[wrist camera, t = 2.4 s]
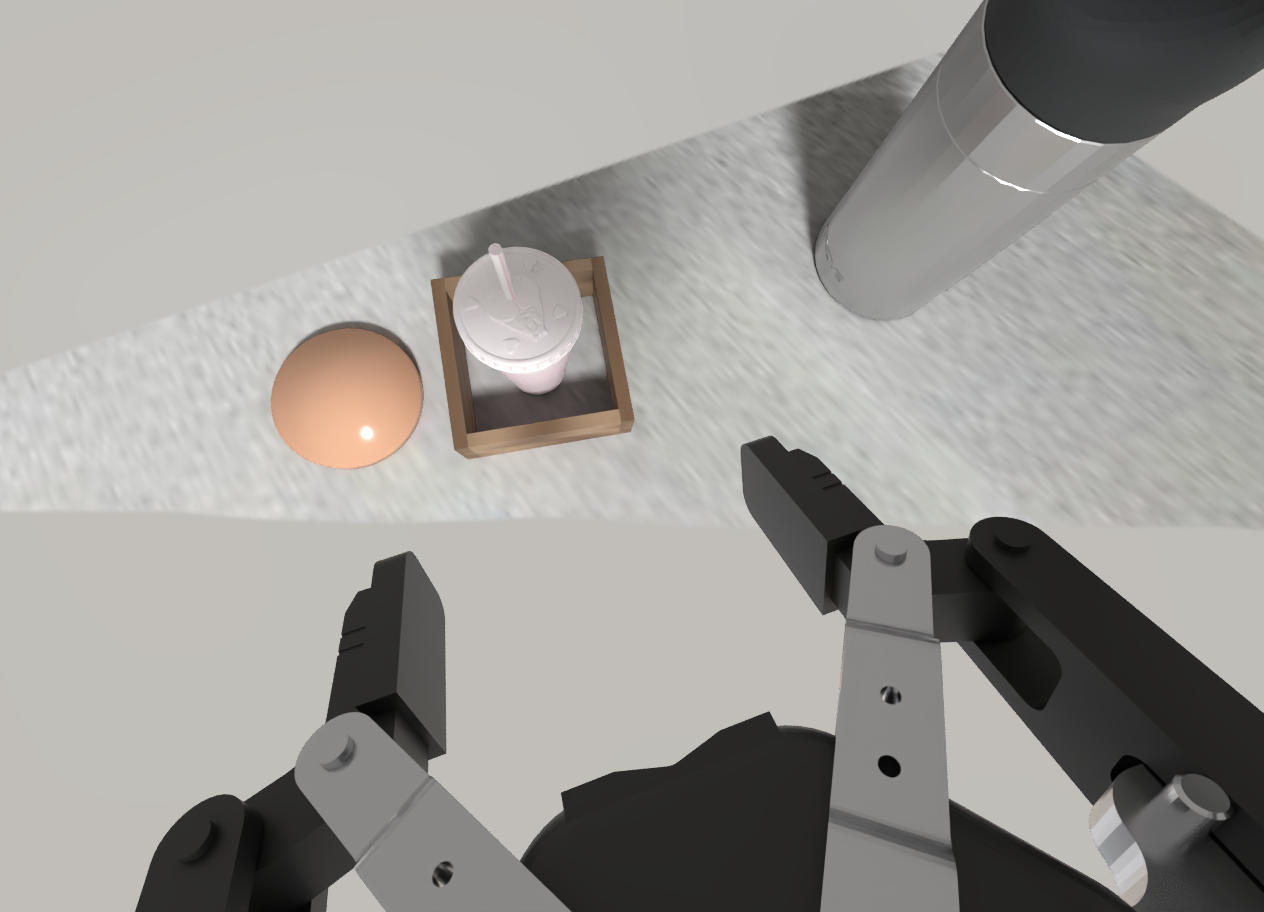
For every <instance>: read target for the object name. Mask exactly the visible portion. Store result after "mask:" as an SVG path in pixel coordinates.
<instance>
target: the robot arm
mask: <svg viewBox="0 0 1264 912" xmlns="http://www.w3.org/2000/svg"><path fill="white" fill-rule="evenodd" d="M1263 68H1264V0H984V1H983V2H982V3H981V5H980V6H979V8H978V9H977V10H976V12H975V13H974V15H973V16H972V17H971V19H970V20H969V22H968V23H967V24H966V26H965V27H964V29H963V30H962V31H961V33H960V34H959V35H958V37H957V38H956V40H955V41H954V43H953V44H952V45H951V47H950V48H949V49H948V51H947V53H946V54H945V56H944V57H943V58H942V60H941V61H940V62H939V64H938V65H937V67H936V68H935V69H934V71H933V72H932V74H931V75H930V76H929V78H928V79H927V81H926V82H925V83H924V85H923V86H922V88H921V89H920V90H919V92H918V93H917V95H916V96H915V97H914V99H913V100H912V102H911V103H910V104H909V106H908V107H907V109H906V110H905V111H904V113H903V114H902V116H901V117H900V118H899V120H898V121H897V123H896V124H895V125H894V127H893V128H892V130H891V131H890V132H889V134H888V135H887V137H886V138H885V139H884V141H883V142H882V143H881V145H880V146H879V148H878V149H877V150H876V152H875V153H874V155H873V156H872V157H871V159H870V160H869V162H868V163H867V164H866V166H865V167H864V169H863V170H862V171H861V173H860V174H859V176H858V177H857V178H856V180H855V181H854V183H853V184H852V185H851V187H850V188H849V189H848V191H847V192H846V194H845V195H844V196H843V198H842V199H841V201H840V202H839V203H838V205H837V206H836V208H835V209H834V210H833V212H832V213H831V215H830V216H829V217H828V219H827V220H826V222H825V223H824V225H823V227H822V228H821V230H820V232H819V235H818V238H817V241H816V247H815V260H816V267H817V271H818V273H819V276H820V279H821V281H822V283H823V284H824V286H825V288H826V289H827V291H828V292H829V294H830V295H831V296H832V297H833V298H834V299H835V300H836V301H837V302H838V303H839V304H841V305H842V306H843V307H845V308H846V309H848V310H849V311H851V312H853V313H855V314H857V315H860V316H862V317H866V318H870V319H874V320H893V319H899V318H903V317H905V316H908V315H910V314H912V313H914V312H915V311H917V310H918V309H920V308H921V307H922V306H924V305H925V304H927V303H928V302H929V301H931V300H932V299H934V298H935V297H936V296H938V295H939V294H941V293H942V292H943V291H947V290H948V289H949V288H951V287H952V286H954V285H955V284H956V283H958V282H959V281H961V280H962V279H963V278H965V277H966V276H967V275H969V274H970V273H972V272H973V271H974V270H976V269H977V268H978V267H980V266H981V265H983V264H984V263H985V262H987V261H988V260H990V259H991V258H992V257H994V256H995V255H996V254H998V253H999V252H1001V251H1002V250H1003V249H1005V248H1006V247H1007V246H1009V245H1010V244H1012V243H1013V242H1014V241H1016V240H1017V239H1019V238H1020V237H1021V236H1023V235H1024V234H1025V233H1027V232H1028V231H1030V230H1031V229H1032V228H1034V227H1035V226H1036V225H1038V224H1039V223H1041V222H1042V221H1043V220H1045V219H1046V218H1048V217H1049V216H1050V215H1051V214H1052V213H1053V212H1054V211H1055V210H1057V209H1058V208H1059V207H1061V206H1062V205H1064V204H1065V203H1066V202H1068V201H1069V200H1070V199H1072V198H1073V197H1075V196H1076V195H1077V194H1079V193H1080V192H1081V191H1083V190H1084V189H1086V188H1087V187H1088V186H1090V185H1091V184H1092V183H1094V182H1095V181H1097V180H1098V179H1099V178H1100V177H1102V176H1103V175H1104V174H1106V173H1107V172H1108V171H1110V170H1111V169H1113V168H1114V167H1115V166H1117V165H1118V164H1119V163H1121V162H1122V161H1124V160H1125V159H1126V158H1128V157H1129V156H1130V155H1132V154H1133V153H1135V152H1136V151H1137V150H1139V149H1140V148H1141V147H1143V146H1144V145H1146V144H1147V143H1148V142H1150V141H1151V140H1152V139H1154V138H1155V137H1157V136H1158V135H1159V134H1161V133H1162V132H1163V131H1165V130H1166V129H1167V128H1169V127H1170V126H1172V125H1173V124H1174V123H1176V122H1177V121H1178V120H1180V119H1181V118H1183V117H1184V116H1185V115H1187V114H1188V113H1189V112H1191V111H1192V110H1194V109H1195V108H1197V107H1198V106H1199V105H1201V104H1203V103H1205V102H1207V101H1209V100H1211V99H1213V98H1215V97H1217V96H1219V95H1221V94H1222V93H1224V92H1226V91H1228V90H1230V89H1232V88H1233V87H1235V86H1237V85H1239V84H1240V83H1242V82H1244V81H1245V80H1246V79H1248V78H1250V77H1251V76H1253V75H1254V74H1256V73H1257V72H1259V71H1260V70H1262V69H1263ZM741 466H742V481H743V494H744V498H745V502H746V505H747V507H748V509H749V511H750V513H751V515H752V517H753V518H754V519H755V521H756V522H757V524H758V525H759V526H760V528H761V529H762V531H763V532H764V533H765V535H766V536H767V538H768V539H769V540H770V542H771V543H772V545H773V546H774V547H775V549H776V550H777V551H778V553H779V554H780V556H781V557H782V559H783V560H784V561H785V563H786V564H787V566H788V567H789V568H790V570H791V571H792V573H793V574H794V575H795V577H796V578H797V580H798V581H799V582H800V584H801V585H802V586H803V588H804V589H805V591H806V592H807V594H808V595H809V597H810V598H811V599H812V601H813V602H814V604H815V605H816V606H817V608H818V609H819V611H820V612H821V613H822V615H825V614H827V613H830V612H833V611H835V610H838V609H839V611H840V612H841V613H842V615H844V617H845V618H846V624H845V634H844V646H843V656H842V666H841V677H840V688H839V699H838V708H837V719H836V729H835V736H834V735H832V734H829V733H827V732H824V731H820V730H817V729H813V728H808V727H802V726H786V725H785V726H777V725H776V723H775V721H774V719H773V717H772V716H771V714H770V712H766V713H764V714H761V715H758V716H756V717H753V718H751V719H748V720H746V721H743V722H741V723H738V724H735V725H733V726H730V727H728V728H725V729H723V730H720V731H719V732H717V733H716V734H715V735H713V736H712V737H711V738H709V739H708V740H707V741H706V742H704V743H703V744H701V745H700V746H699V747H698V748H696V749H695V750H693V751H692V752H691V753H689V754H688V755H687V756H685V757H684V758H683V759H681V760H680V761H679V762H677V763H676V764H674V765H671V766H667V767H658V768H649V769H638V770H628V771H619V772H613V773H610V774H608V775H605V776H602V777H600V778H597V779H595V780H592V781H590V782H587V783H585V784H582V785H580V786H577V787H574V788H572V789H569V790H567V791H564V792H562V793H561V795H562V802H563V808H564V810H563V811H562V812H561V813H559V814H558V815H557V816H556V817H555V818H553V819H552V820H551V821H550V822H549V823H548V824H547V825H546V826H545V827H544V828H543V829H542V830H541V832H540V833H539V834H538V835H537V836H536V837H535V839H534V840H533V841H532V843H531V844H530V846H529V847H528V849H527V850H526V852H525V853H524V855H523V857H522V858H521V860H520V861H519V860H518V859H517V858H516V857H515V856H514V855H512V853H511V852H510V851H508V850H507V849H506V848H505V847H504V846H503V845H502V844H501V843H500V842H499V841H498V840H497V839H496V838H495V837H494V836H493V835H492V834H491V833H490V832H489V831H488V830H487V829H486V828H485V827H484V826H483V825H482V824H481V823H480V822H479V821H478V820H477V819H475V818H474V817H473V815H472V814H470V813H469V812H468V811H467V810H466V809H465V808H464V807H463V806H462V805H461V804H460V803H459V802H458V801H457V800H456V799H455V798H454V797H453V796H452V795H451V794H450V793H449V792H448V791H447V790H446V789H445V788H444V787H443V786H442V785H441V784H439V782H438V781H436V780H435V779H434V778H433V777H431V776H429V775H428V760H430V759H433V758H435V757H438V756H441V755H443V754H446V687H445V686H446V682H445V681H446V679H445V616H444V610H443V606H442V602H441V599H440V597H439V595H438V593H437V591H436V589H435V588H434V586H433V584H432V583H431V581H430V579H429V578H428V576H427V574H426V573H425V571H424V569H423V568H422V566H421V564H420V563H419V561H418V559H417V558H416V556H415V555H414V554H413V553H412V552H411V551H408V552H405V553H402V554H399V555H396V556H393V557H390V558H387V559H384V560H380V561H377V562H376V563H375V565H374V569H373V577H372V584H371V588H369V589H365V590H362V591H359V592H358V593H357V594H356V596H355V598H354V599H353V601H352V603H351V604H350V606H349V608H348V609H347V611H346V613H345V617H344V622H343V628H342V638H341V639H340V645H339V656H337V662H336V668H335V673H334V679H333V684H332V690H331V696H330V702H329V708H328V713H327V718H326V722H325V724H324V725H322V726H321V727H320V728H319V729H318V730H317V731H316V732H315V733H314V734H313V735H312V736H311V737H310V739H309V740H308V741H307V742H306V743H305V745H304V747H303V748H302V750H301V752H300V754H299V756H298V759H297V762H296V766H295V767H294V768H293V769H292V770H290V771H289V772H288V773H286V774H285V775H283V776H282V777H280V778H279V779H277V780H276V781H275V782H273V783H272V784H270V785H268V786H267V787H265V788H264V789H262V790H261V791H259V792H258V793H256V794H255V795H253V796H252V797H251V798H249V799H247V800H246V801H244V802H243V801H241V800H240V799H238V798H237V797H235V796H233V795H226V794H223V795H217V796H214V797H211V798H209V799H207V800H205V801H202V802H201V803H199V804H198V805H196V806H194V807H193V808H192V809H190V810H189V811H188V812H187V813H185V814H184V815H183V816H182V817H181V818H180V819H179V820H178V821H177V822H176V823H175V824H174V825H173V826H172V827H171V828H170V830H169V831H168V832H167V834H166V835H165V836H164V838H163V839H162V841H161V842H160V844H159V846H158V847H157V850H156V851H155V853H154V856H153V858H152V861H151V864H150V867H149V870H148V873H147V876H146V880H145V883H144V886H143V889H142V892H141V895H140V898H139V901H138V905H137V908H136V911H135V912H326V907H327V895H328V887H329V886H330V885H332V884H333V883H335V882H336V881H337V880H339V878H341V877H342V876H344V875H345V874H346V873H347V872H349V871H350V870H352V869H353V868H355V870H356V872H357V874H358V875H359V877H360V878H361V879H362V881H363V882H364V883H365V885H366V886H367V887H368V888H369V890H370V891H371V892H372V894H373V895H374V896H375V898H376V899H377V900H378V902H379V903H380V904H381V906H382V907H383V908H384V909H385V911H386V912H1264V713H1263V712H1261V711H1260V710H1259V709H1258V708H1257V707H1256V706H1254V705H1253V704H1252V703H1251V702H1249V701H1248V700H1247V699H1246V698H1245V697H1243V696H1242V695H1241V694H1240V693H1239V692H1237V691H1236V690H1235V689H1234V688H1232V687H1231V686H1230V685H1229V684H1228V683H1226V682H1225V681H1224V680H1223V679H1222V678H1220V677H1219V676H1218V675H1217V674H1215V673H1214V672H1213V671H1212V670H1210V669H1209V668H1208V667H1207V666H1206V665H1204V664H1203V663H1202V662H1201V661H1200V660H1198V659H1197V658H1196V657H1195V656H1193V655H1192V654H1191V653H1190V652H1189V651H1187V650H1186V649H1185V648H1184V647H1183V646H1181V645H1180V644H1179V643H1178V642H1176V641H1175V640H1174V639H1173V638H1172V637H1170V636H1169V635H1168V634H1167V633H1166V632H1164V631H1163V630H1162V629H1161V628H1159V627H1158V626H1157V625H1156V624H1155V623H1153V622H1152V621H1151V620H1150V619H1149V618H1147V617H1146V616H1145V615H1144V614H1143V613H1141V612H1140V611H1139V610H1138V609H1136V608H1135V607H1134V606H1133V605H1132V604H1130V603H1129V602H1128V601H1127V600H1126V599H1124V598H1123V597H1122V596H1121V595H1119V594H1118V593H1117V592H1116V591H1115V590H1113V589H1112V588H1111V587H1110V586H1109V585H1107V584H1106V583H1105V582H1103V581H1102V580H1101V579H1100V578H1099V577H1098V576H1096V575H1095V574H1094V573H1093V572H1091V571H1090V570H1089V569H1088V568H1087V567H1085V566H1084V565H1083V564H1082V563H1081V562H1079V561H1078V560H1077V559H1076V558H1075V557H1073V556H1072V555H1071V554H1070V553H1068V552H1067V551H1066V550H1065V549H1063V548H1062V547H1061V546H1060V545H1059V544H1058V543H1056V542H1055V541H1054V540H1053V539H1051V538H1050V537H1049V536H1048V535H1047V534H1045V533H1044V532H1043V531H1041V530H1040V529H1039V528H1037V527H1035V526H1033V525H1032V524H1029V523H1027V522H1024V521H1021V520H1018V519H1014V518H1008V517H991V518H986V519H983V520H981V521H979V522H977V523H976V524H975V525H974V526H973V527H972V529H971V531H970V535H969V538H963V539H949V540H931V541H927V540H922V539H921V538H920V537H918V536H917V535H916V534H914V533H913V532H911V531H908V530H906V529H904V528H901V527H897V526H891V525H884V524H883V523H882V522H881V521H880V520H879V519H878V518H877V517H876V516H875V515H874V514H873V513H872V512H871V511H870V510H869V509H868V508H867V507H866V506H865V505H864V504H863V503H862V502H861V501H860V500H859V499H858V498H857V497H856V496H855V495H854V494H853V493H852V492H851V491H850V490H849V489H848V488H847V487H846V486H845V485H842V483H841V481H840V480H839V479H838V478H837V477H836V476H835V475H834V474H831V471H830V470H829V469H828V468H827V467H826V466H825V465H824V464H823V463H822V462H821V461H820V460H819V459H818V458H817V457H815V456H813V455H811V454H809V453H806V452H804V451H802V450H800V449H795V450H792V451H789V452H788V451H787V450H786V449H785V448H784V447H783V446H782V445H781V443H780V442H779V441H778V440H777V439H776V438H775V437H773V436H768V437H765V438H761V439H758V440H755V441H752V442H749V443H746V444H743V445H742V446H741ZM940 642H957V643H959V645H960V646H961V647H962V648H963V650H964V651H965V652H966V653H967V654H968V656H969V657H970V658H971V659H972V661H973V662H974V663H975V664H976V665H977V667H978V668H979V669H980V670H981V671H982V673H983V674H984V675H985V676H986V677H987V679H988V680H989V681H990V682H991V683H992V685H993V686H994V687H995V688H996V689H997V690H998V692H999V693H1000V694H1001V695H1002V697H1003V698H1004V699H1005V700H1006V701H1007V703H1008V704H1009V705H1010V706H1011V708H1012V709H1013V710H1014V711H1015V712H1016V714H1017V715H1018V716H1019V717H1020V718H1021V719H1022V721H1023V722H1024V723H1025V724H1026V726H1027V727H1028V728H1029V729H1030V730H1031V732H1032V733H1033V734H1034V735H1035V736H1036V738H1037V739H1038V740H1039V741H1040V742H1041V744H1042V745H1043V746H1044V747H1045V748H1046V750H1047V751H1048V752H1049V753H1050V755H1051V756H1052V757H1053V758H1054V759H1055V760H1056V762H1057V763H1058V764H1059V765H1060V767H1061V768H1062V769H1063V770H1064V771H1065V773H1066V774H1067V775H1068V776H1069V777H1070V779H1071V780H1072V781H1073V782H1074V783H1075V784H1076V786H1077V787H1078V788H1079V789H1080V791H1081V792H1082V793H1083V794H1084V795H1085V797H1086V798H1087V799H1088V800H1089V801H1090V803H1091V804H1092V805H1093V807H1092V809H1091V812H1090V815H1089V826H1090V832H1091V835H1092V838H1093V841H1094V843H1095V845H1096V847H1097V849H1098V850H1099V852H1100V853H1101V855H1102V857H1103V858H1104V860H1105V861H1106V863H1107V865H1108V867H1109V868H1110V870H1111V872H1112V874H1113V876H1114V878H1115V881H1116V884H1117V888H1118V894H1119V896H1118V895H1116V894H1115V893H1114V892H1112V891H1111V890H1109V889H1108V888H1106V887H1105V886H1103V885H1102V884H1100V883H1099V882H1097V881H1095V880H1093V879H1092V878H1090V877H1088V876H1086V875H1085V874H1083V873H1081V872H1079V871H1077V870H1076V869H1074V868H1072V867H1070V866H1068V865H1067V864H1065V863H1063V862H1061V861H1059V860H1058V859H1056V858H1054V857H1052V856H1051V855H1049V854H1047V853H1045V852H1043V851H1042V850H1040V849H1038V848H1036V847H1034V846H1033V845H1031V844H1029V843H1027V842H1026V841H1024V840H1022V839H1020V838H1018V837H1017V836H1015V835H1013V834H1011V833H1009V832H1008V831H1006V830H1004V829H1002V828H1000V827H999V826H997V825H995V824H993V823H992V822H990V821H988V820H986V819H985V818H983V817H981V816H979V815H977V814H975V813H974V812H972V811H970V810H969V809H966V808H965V807H963V806H961V805H960V804H958V803H956V802H954V801H952V800H951V799H949V798H948V779H947V760H946V740H945V722H944V701H943V683H942V662H941V647H940Z"/></svg>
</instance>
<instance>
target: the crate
mask: <svg viewBox="0 0 1264 912" xmlns="http://www.w3.org/2000/svg"><path fill="white" fill-rule="evenodd" d="M561 263H562V264H563V265H564V266H565V267H566V268H567V269H568V270H569V271H570V273H571V274H572V276H573V277H574V279H575V281H576V283H577V285H578V288H579V291H580V295H581V297H583V296H590V295H593V298H594V304H595V309H596V315H597V320H598V325H599V331H600V336H601V341H602V347H603V352H604V358H605V363H606V368H607V374H608V379H609V384H610V390H611V395H612V401H613V406H614V410H610V411H604V412H597V413H591V414H585V415H579V416H573V417H567V418H561V419H555V420H549V421H543V422H537V423H531V424H525V425H519V426H513V427H507V428H501V429H495V430H488V431H482V432H477V429H476V422H475V415H474V408H473V402H472V395H471V388H470V381H469V374H468V368H467V361H466V354H465V347H464V342H463V340H462V338H461V336H460V335H459V332H458V329H457V327H456V324H455V320H454V315H453V299H454V294H455V290H456V287H457V285H458V282H459V280H460V279H461V277H462V276H455V277H448V278H441V279H433V280H431V286H432V294H433V301H434V308H435V315H436V322H437V329H438V336H439V344H440V351H441V358H442V365H443V372H444V379H445V386H446V393H447V401H448V408H449V415H450V422H451V429H452V436H453V443H454V450H455V451H457V452H458V453H460V454H461V455H463V456H464V457H466V458H467V459H472V458H478V457H484V456H490V455H496V454H502V453H508V452H514V451H520V450H526V449H531V448H537V447H543V446H549V445H555V444H561V443H567V442H573V441H579V440H585V439H590V438H596V437H602V436H608V435H614V434H620V433H626V432H631V429H632V426H633V423H634V415H633V409H632V404H631V399H630V394H629V388H628V383H627V378H626V373H625V368H624V362H623V357H622V352H621V347H620V341H619V336H618V331H617V326H616V320H615V315H614V310H613V305H612V300H611V294H610V289H609V284H608V279H607V273H606V268H605V263H604V258H603V256H600V257H593V258H586V259H579V260H571V261H564V262H561Z"/></svg>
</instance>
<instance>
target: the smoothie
mask: <svg viewBox="0 0 1264 912" xmlns="http://www.w3.org/2000/svg"><path fill="white" fill-rule="evenodd" d="M453 315H454V320H455V324H456V327H457V329H458V332H459V335H460V336H461V338H462V340H463V342H464V343H465V345H466V347H467V349H468V350H469V351H470V352H471V353H472V354H473V355H474V356H475V357H476V358H477V359H478V360H479V361H481V362H483V363H485V364H486V365H488V366H490V367H492V368H493V369H497V370H499V371H501V372H502V373H503V374H504V375H505V376H506V377H507V378H508V379H509V380H510V381H512V382H513V383H514V384H515V385H516V386H517V387H518V388H519V389H521V390H522V391H524V392H526V393H529V394H534V395H540V394H545V393H548V392H550V391H552V390H554V389H555V388H556V387H557V386H558V385H559V384H560V383H561V382H562V380H563V378H564V375H565V371H566V366H567V362H568V358H569V353H570V350H571V348H572V347H573V345H574V344H575V342H576V340H577V339H578V337H579V334H580V331H581V327H582V324H583V304H582V300H581V295H580V291H579V288H578V285H577V283H576V281H575V279H574V277H573V276H572V274H571V273H570V271H569V270H568V269H567V268H566V267H565V266H564V265H563V264H562V263H561V262H560V261H558V260H557V259H556V258H554V257H553V256H551V255H549V254H547V253H545V252H543V251H540V250H537V249H533V248H528V247H507V248H502V247H501V246H500V245H499V244H497V243H494V244H491V245H490V246H489V253H488V254H486V255H484V256H482V257H481V258H479V259H478V260H476V261H475V262H474V263H473V264H472V265H471V266H470V267H469V268H468V269H467V270H466V271H465V273H464V274H463V275H462V277H461V279H460V280H459V282H458V285H457V287H456V290H455V294H454V299H453Z"/></svg>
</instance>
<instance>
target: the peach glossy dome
mask: <svg viewBox="0 0 1264 912" xmlns="http://www.w3.org/2000/svg"><path fill="white" fill-rule="evenodd" d="M422 408H423V387H422V382H421V378H420V375H419V373H418V371H417V369H416V367H415V365H414V363H413V362H412V361H411V359H410V358H409V357H408V356H407V354H406V353H405V352H404V351H403V350H402V349H401V348H400V347H399V346H397V345H396V344H395V343H394V342H392V341H391V340H389V339H388V338H386V337H384V336H382V335H380V334H377V333H375V332H371V331H368V330H363V329H353V328H346V329H337V330H332V331H328V332H325V333H322V334H319V335H317V336H315V337H313V338H311V339H309V340H307V341H306V342H304V343H303V344H301V345H300V346H299V347H298V348H296V349H295V350H294V351H293V352H292V353H291V354H290V355H289V356H288V358H287V359H286V360H285V362H284V363H283V364H282V366H281V368H280V370H279V371H278V374H277V376H276V378H275V381H274V385H273V388H272V395H271V410H272V416H273V420H274V423H275V426H276V428H277V430H278V432H279V434H280V436H281V437H282V438H283V440H284V441H285V443H286V444H287V445H288V446H289V447H290V448H291V449H292V450H293V451H295V452H296V453H297V454H298V455H300V456H302V457H303V458H305V459H307V460H309V461H311V462H314V463H316V464H320V465H323V466H327V467H330V468H337V469H356V468H362V467H367V466H370V465H373V464H376V463H378V462H380V461H382V460H384V459H386V458H388V457H389V456H391V455H392V454H394V453H395V452H396V451H397V450H399V449H400V448H401V447H402V446H403V445H404V444H405V443H406V441H407V440H408V439H409V438H410V436H411V435H412V433H413V432H414V430H415V428H416V426H417V424H418V422H419V419H420V416H421V412H422Z"/></svg>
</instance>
